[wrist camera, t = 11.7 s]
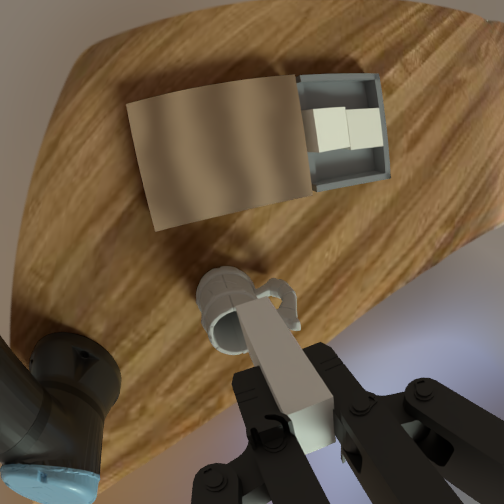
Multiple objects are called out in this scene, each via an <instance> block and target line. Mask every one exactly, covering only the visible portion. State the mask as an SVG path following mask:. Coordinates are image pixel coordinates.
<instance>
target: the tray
mask: <svg viewBox="0 0 504 504" xmlns="http://www.w3.org/2000/svg"><path fill="white" fill-rule="evenodd" d="M295 78H296V84H297V90H298V95H299V101H300V107H301V111H303V110H311V109H321V108H333V107H345V110H350V109H368V108H379V111H380V119H381V128H382V137H383V146H380V147H371V148H363V149H355V150H347V149H336V150H330V151H325V152H320V153H317V152H307V154H308V161H309V168H310V176H311V184H312V190H313V191H316V192H320V191H326V190H331V189H336V188H341V187H346V186H351V185H357V184H362V183H368V182H373V181H379V180H384V179H390V178H391V176H390V161H389V149H388V138H387V129H386V120H385V112H384V104H383V97H382V90H381V84H380V78H379V74H368V73H342V74H313V75H299V76H297V77H295Z"/></svg>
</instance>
